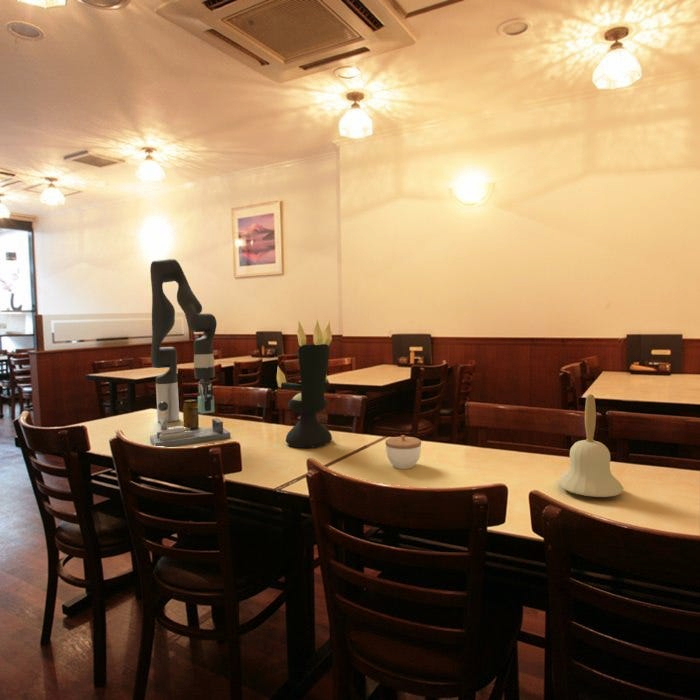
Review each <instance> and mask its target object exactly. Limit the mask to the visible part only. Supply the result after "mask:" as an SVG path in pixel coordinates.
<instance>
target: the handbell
mask: <svg viewBox="0 0 700 700" xmlns="http://www.w3.org/2000/svg"><path fill="white" fill-rule="evenodd" d="M596 412H597V409H596V398H595V396H594V395H593V394H592V393H590V394H587V395H586V398H585V406H584V428H585V434H586V439H583V440H582V439H581V440H578V441H576V442H574V444H573V445H572V446H571V447H570V450H569V466H568V469H567V470H566V471H565V472H563V473H562V474H561V475H560V476H558V478H557V479H556V483H557V485H558V486H559V487H560V488H561V489H562V490H565V491H568V492H570V493H573V494H577V495H580V496H585V497H586V496H587V497H594V498H607V497H608V498H609V497H616V496H619V495H620V494H622V493H623V491H624V489H625V487H624V486H623V485H622V484H621V482H620V481H619V480H618V479H617V478H616V477H615V476H614V475H613V473H612V472H611V452H610V451H609V448H608V447H607V445H605V444H603V442H600V441H596V440H595V439H594V437H595V431H596V420H597V417H596V416H597V413H596Z"/></svg>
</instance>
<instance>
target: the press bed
mask: <svg viewBox="0 0 700 700" xmlns="http://www.w3.org/2000/svg"><path fill="white" fill-rule="evenodd" d="M211 421H212V422H211V423H212V427H207V428H206V427H205V428H203V429H198V430H190V428H188V431H186V432H179V433H171V434H164V435H160V431H156V434H153V435H150V436H149V441H150V443H151V444H152V445H153V446H154V445H155V446H168V447H169V448H170V447H178V446H182V445H190V444H197V443H204V442H205V443H206V442H213V441H218V440H224V439H231V432H230V431H228V430H227V429H226V428H224V422H223V420H221V419H219V418H211ZM168 447H167V448H168Z"/></svg>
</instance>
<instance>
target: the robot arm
mask: <svg viewBox="0 0 700 700" xmlns="http://www.w3.org/2000/svg"><path fill="white" fill-rule="evenodd" d="M149 274H150V281H151V334H152V335H151V348H150V364H151V366H152V367H153V368H155V369H162V368H163V369H165V368H167V369H168V368H169V369H168V370H167V371H166V372H164V373H162V374H160V375H158V376H156V377H155V390H156V393H155V394H156V414H157V422H158V423H160V410H159V409H158V404H159V403H160V402H163V401H164V402H166V403H167V404H168V409H167V423H171V422H173V423H174V422H176V421H180V408H179V407H180V406H179V405H180V404H179V403H180V402H179V388H178V385H179V384H178V352H177V349H176V348H175V347H174V346H161V345H162V343H163V342H164V339H165V338H166V336H168V334H169V333H170V332H171V330H172V329H173V327H174V325H175V321H176V320H175V319H176V316H175V315H176V314H175V313H176V311H175V307H174V305H173V304H172V302H171V301H170V299H169V298H168V297H167V295H166V294H165V292H164V288H163V287H164V286H163V284H165V283H171V282H176V283H177V285H178V287H177V291H176V292H177V293H176V301H177V303H178V305H179V306H180V309H181V310H182V311H183V313H184V317H185V320H186V323H187V327H188V329H189V330H190V331H192V332H193V333H202V335H201V337H199V338H196V339H195V340H194V341H193V352H194V353H193V369H194V370H193V372H194V378H195V379H196V380H199V381H197V388H198V389H197V390H198V396H204V402H205V411H210V410H211V400H212V399H213V397H214V393H213V392H214V390H213V389H214V385H213V384H212V382H211V380H210V379H214V378H215V376H216V372H215V369H216V368H215V357H214V344H213V343H214V340H215V336H216V335H215V334H216V330H217V324H218V323H217V320H216V319H217V318H216V317H215V316H214V314H212V313H202V312H203V305H202V304H201V302H200V301H199V300H198V298H197V297H196V295H195V293H194V292H193V290H192V288H191V286H190V284H189V281H188V279H187V277H186V275H185V272H184V270H183V267H181V264H180V263H179V262H178V260H177V259H174V258H165V259H163V258H162V259H156V260H152V262H151V264H150V273H149ZM207 395H209V397H207Z"/></svg>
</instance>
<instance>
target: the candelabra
mask: <svg viewBox="0 0 700 700" xmlns="http://www.w3.org/2000/svg"><path fill="white" fill-rule="evenodd" d="M296 330H297V331H296V333H297V340H298V345H299V346H298V348H297V358H298V359H297V360H298V365H299V367H298V369H299V376H300V384H299V383H293V382H287V379H286V376H285V375H286V374H284V372H283V371H282V370H281V368H280V367H279V366H277V372H276V383H277V387H278V388H283V389H286V390H293V391H300V392H299V393H297V394H295V395H294V396H293V397H292V398H291V399H290V400H289V402H288V408H289V410H290V411H291V412H293V413H296V414H297V413H298V414H299V415H300V416H299V421H298V422H297V423H296V424H295V425H294V426H293V427H292V428H291V429H289V431H288V432H287V434H286V437H285V442H286V444H287V445H289V446H290V447H293V448H298V449H299V448H303V449H304V448H305V449H308V448H319V447H323V446H326V445H328V444H330V442H331V441H332V440H333V436H332V433H331V431H329V429H328V428H327V427H326V426H325V425H323V424H322V423H321V422H320V421H319V420H318V418H317V413H320V412H322V411H324V410H326V409H327V406H328V401H327V399H326V398H325V391H326V389H325V388H329V387H330V382H329V380H328V375H327V373H328V367H329V359H330V349H331V348H330V344H331V342H332V341H333V335H332V330H331V322H330V320H328V322H327V323H326V325H325V326H324V329H323V330H321V328H320V325H319V321H318V319H316V320H315V324H314V327H313V329H312V330H313V333H312V334H313V335H312V338H313V343H312V344H307V337H306V336H307V335H306V333H305V331H304V329H303V326H302V324H301V322H300V321H298V322H297V329H296Z"/></svg>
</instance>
